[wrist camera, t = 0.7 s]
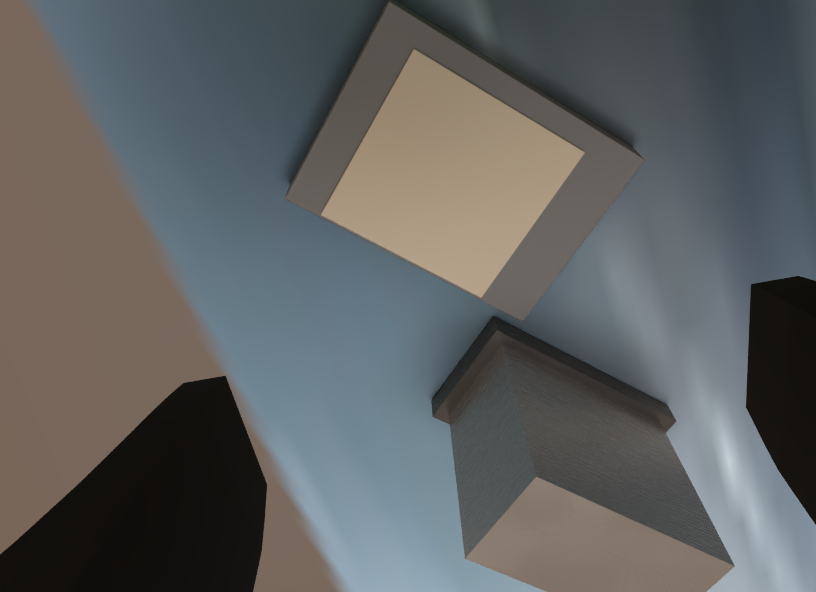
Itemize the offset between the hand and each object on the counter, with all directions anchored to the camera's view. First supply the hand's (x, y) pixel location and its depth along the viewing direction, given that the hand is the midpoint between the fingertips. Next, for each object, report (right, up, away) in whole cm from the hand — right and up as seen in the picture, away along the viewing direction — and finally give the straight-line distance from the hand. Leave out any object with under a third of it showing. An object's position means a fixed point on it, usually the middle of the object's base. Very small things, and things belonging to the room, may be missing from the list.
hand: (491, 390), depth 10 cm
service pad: (0, +5, +9) cm, 11 cm away
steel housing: (+3, -2, +13) cm, 14 cm away
